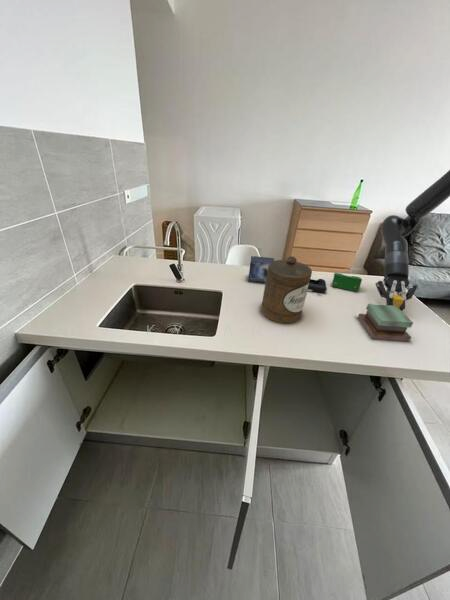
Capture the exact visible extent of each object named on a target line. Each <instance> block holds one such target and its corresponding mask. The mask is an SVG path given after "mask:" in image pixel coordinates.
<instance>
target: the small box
mask: <svg viewBox="0 0 450 600" xmlns="http://www.w3.org/2000/svg"><path fill="white" fill-rule="evenodd" d="M273 261H275V258H274V257H267V256H266V257H265V256H258V255H257V256H256V255H255V256H253V255H251V256H250V263H249V270H248V279H247V280H248V282H249V283H250V282H251V283H259V284H266V278H267V271H268V266H269V264H270V263H271V262H273Z"/></svg>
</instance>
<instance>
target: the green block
mask: <svg viewBox="0 0 450 600" xmlns="http://www.w3.org/2000/svg"><path fill="white" fill-rule="evenodd" d="M362 281H363V279H362V278H361V277H360V276H355V275H352V276H351V275H345V274H343V273H339V272H334V274H333V278H332V281H331V284H332V286H333V287H334V288H339V289H344V290H348V291H353V292H358V291H359V290H360V287H361V285H362Z"/></svg>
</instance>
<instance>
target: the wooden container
mask: <svg viewBox="0 0 450 600" xmlns="http://www.w3.org/2000/svg"><path fill="white" fill-rule="evenodd" d="M312 273H313V270H312V268H311V267H310V266H308V265H307V264H305V263H301V262H299V261H298V260H297V258H296V257H295V256H292V255H291V256H288V257H286V259H278V260H277V259H276V260H274V261H273V262H271V263H270V264H269V266H268V271H267V278H266V283H264V289H263V290H264V291H263V294H262V302H261V309H260V310H261V313H262V315H263V316H264V317H266V318H267V319H269V320H271V321H272V322H276V323H279V324H292V323H295V322H297V321H299V320H300V318H301V316H302V313H303V309H304V306H305V303H306V299H307V295H308V291H307V290H308V286H309V281H310V279H311V278H312Z"/></svg>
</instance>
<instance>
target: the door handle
mask: <svg viewBox="0 0 450 600" xmlns="http://www.w3.org/2000/svg"><path fill="white" fill-rule="evenodd" d="M327 290H328V289H327V284H326V280H325V279H323V278H318V279H313V278H312V279H311V278H310V281H309V286H308V290H307V292H318V293H326V292H327Z"/></svg>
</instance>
